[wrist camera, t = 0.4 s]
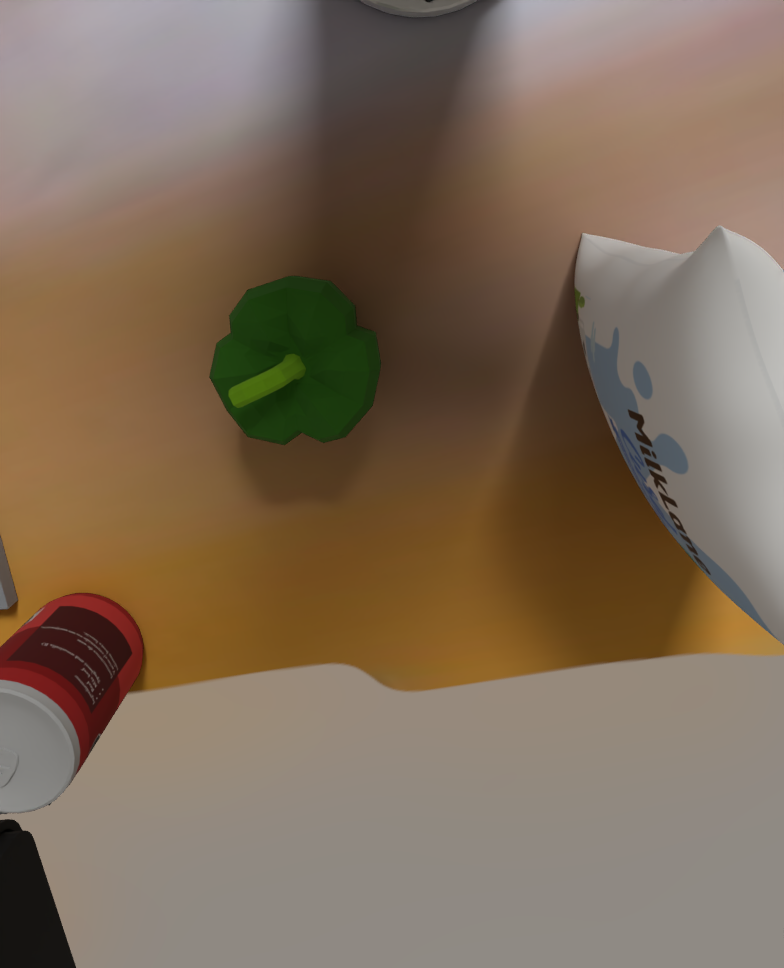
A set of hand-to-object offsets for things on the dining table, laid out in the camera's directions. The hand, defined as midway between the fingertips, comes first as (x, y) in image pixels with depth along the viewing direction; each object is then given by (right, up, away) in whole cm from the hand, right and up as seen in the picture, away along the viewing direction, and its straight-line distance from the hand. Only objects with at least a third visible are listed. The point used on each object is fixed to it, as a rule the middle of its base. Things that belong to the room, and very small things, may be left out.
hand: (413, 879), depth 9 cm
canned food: (-20, -6, +39) cm, 44 cm away
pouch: (+14, +10, +33) cm, 38 cm away
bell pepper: (-5, +13, +33) cm, 35 cm away
